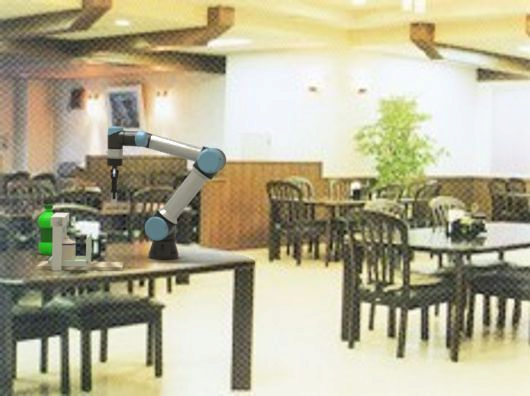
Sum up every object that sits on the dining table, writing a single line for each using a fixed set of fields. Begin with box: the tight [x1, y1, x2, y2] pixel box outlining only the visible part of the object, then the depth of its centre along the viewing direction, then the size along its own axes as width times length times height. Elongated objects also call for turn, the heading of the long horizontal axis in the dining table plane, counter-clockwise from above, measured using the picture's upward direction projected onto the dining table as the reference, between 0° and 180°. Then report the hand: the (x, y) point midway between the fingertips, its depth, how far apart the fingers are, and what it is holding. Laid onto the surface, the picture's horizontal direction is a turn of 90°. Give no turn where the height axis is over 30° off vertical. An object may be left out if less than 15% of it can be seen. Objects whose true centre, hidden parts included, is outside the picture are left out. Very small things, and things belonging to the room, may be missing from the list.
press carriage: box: [47, 232, 93, 267], centre depth 433 cm, size 18×17×14 cm
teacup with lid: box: [62, 236, 77, 261], centre depth 433 cm, size 12×9×12 cm
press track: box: [36, 260, 125, 272], centre depth 434 cm, size 38×17×2 cm, turn 97°
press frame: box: [51, 212, 70, 272], centre depth 432 cm, size 6×24×24 cm, turn 7°
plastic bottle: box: [37, 204, 55, 256], centre depth 475 cm, size 10×10×25 cm
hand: (113, 205), depth 464 cm, fingers closed
